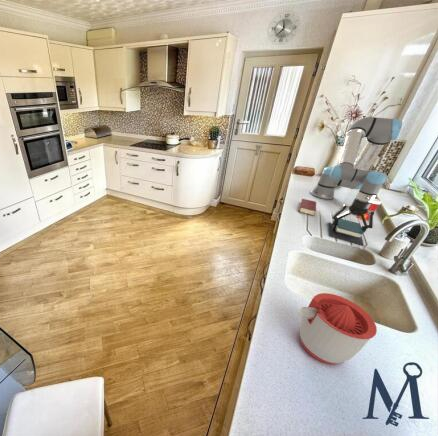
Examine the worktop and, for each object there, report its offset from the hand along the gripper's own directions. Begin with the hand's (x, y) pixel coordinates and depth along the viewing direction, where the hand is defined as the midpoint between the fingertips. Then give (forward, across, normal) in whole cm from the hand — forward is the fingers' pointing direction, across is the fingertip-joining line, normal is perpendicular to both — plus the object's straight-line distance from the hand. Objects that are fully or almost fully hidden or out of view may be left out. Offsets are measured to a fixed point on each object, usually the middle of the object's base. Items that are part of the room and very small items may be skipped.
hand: (345, 232), depth 139 cm
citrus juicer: (+1, -13, -93) cm, 94 cm away
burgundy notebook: (+1, -21, +23) cm, 31 cm away
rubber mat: (+1, 0, 0) cm, 1 cm away
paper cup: (+1, +12, +32) cm, 34 cm away
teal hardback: (-2, 0, 0) cm, 2 cm away
